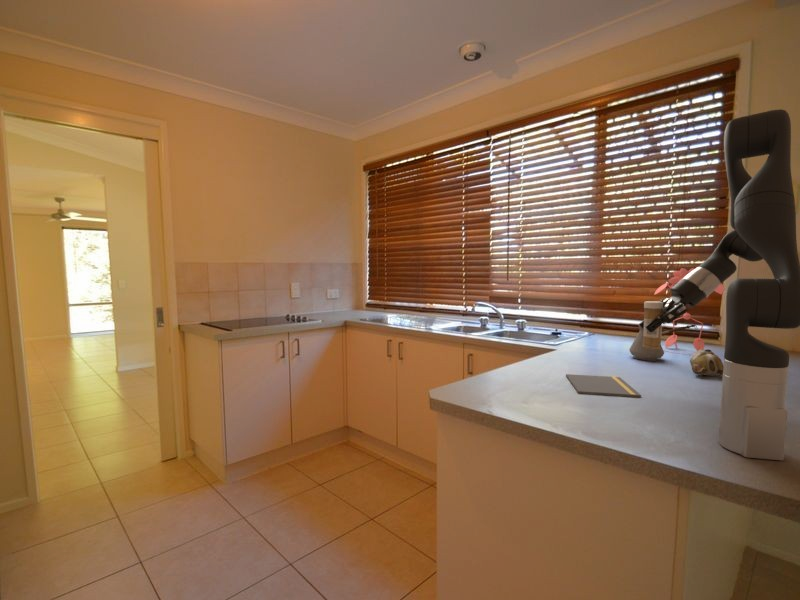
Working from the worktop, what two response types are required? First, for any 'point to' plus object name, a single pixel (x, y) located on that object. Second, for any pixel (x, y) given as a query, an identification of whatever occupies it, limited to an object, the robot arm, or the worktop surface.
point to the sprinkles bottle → (651, 312)
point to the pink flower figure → (680, 275)
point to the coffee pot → (648, 353)
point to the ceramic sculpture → (706, 363)
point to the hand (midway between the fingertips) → (645, 328)
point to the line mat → (601, 385)
